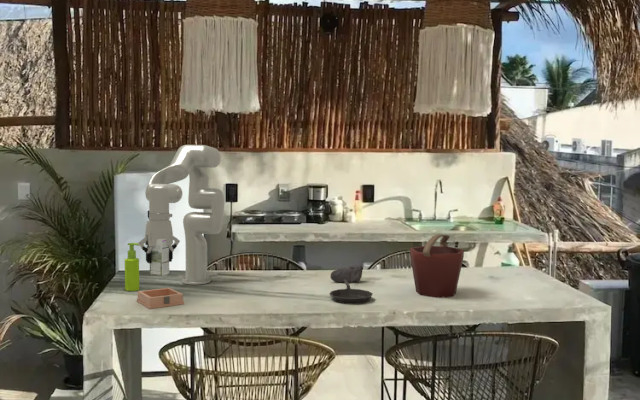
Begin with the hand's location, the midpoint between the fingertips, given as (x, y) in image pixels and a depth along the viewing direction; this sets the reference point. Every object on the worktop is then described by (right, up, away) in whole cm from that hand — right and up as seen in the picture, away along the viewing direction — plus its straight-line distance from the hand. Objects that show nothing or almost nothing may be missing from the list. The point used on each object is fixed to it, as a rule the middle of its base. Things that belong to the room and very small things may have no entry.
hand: (159, 261), depth 269 cm
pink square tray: (0, -16, +2) cm, 16 cm away
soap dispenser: (-17, -14, +24) cm, 33 cm away
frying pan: (+75, -16, +18) cm, 79 cm away
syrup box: (0, -5, 0) cm, 5 cm away
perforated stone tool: (+75, -14, +44) cm, 88 cm away
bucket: (+113, -16, +24) cm, 116 cm away
